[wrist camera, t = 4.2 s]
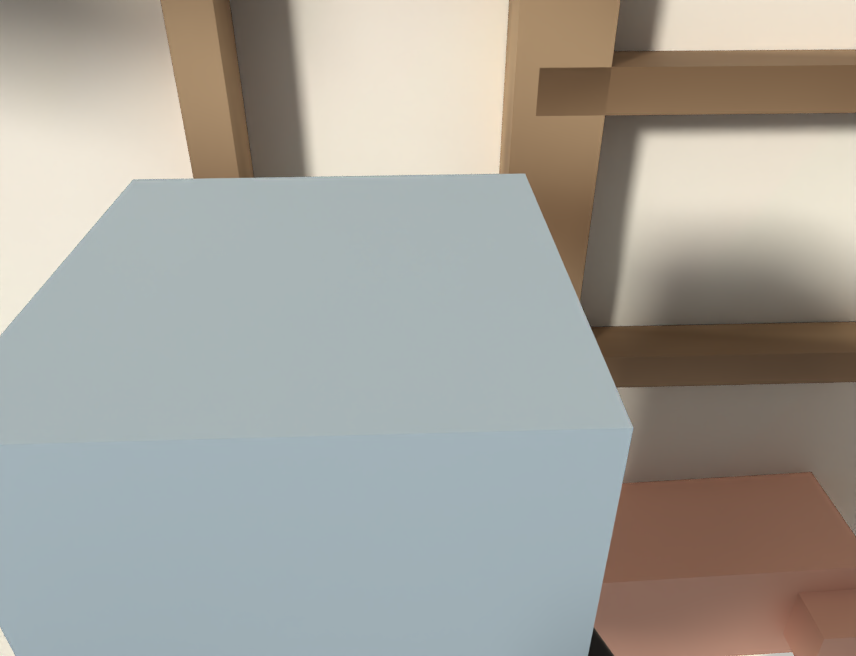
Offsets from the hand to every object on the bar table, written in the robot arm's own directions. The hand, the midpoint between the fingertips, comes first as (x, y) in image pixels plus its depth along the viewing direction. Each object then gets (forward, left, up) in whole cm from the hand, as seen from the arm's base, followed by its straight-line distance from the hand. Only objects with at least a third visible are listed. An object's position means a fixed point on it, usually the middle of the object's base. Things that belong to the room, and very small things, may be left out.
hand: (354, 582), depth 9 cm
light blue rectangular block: (0, 0, -1) cm, 1 cm away
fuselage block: (-11, -9, -11) cm, 18 cm away
